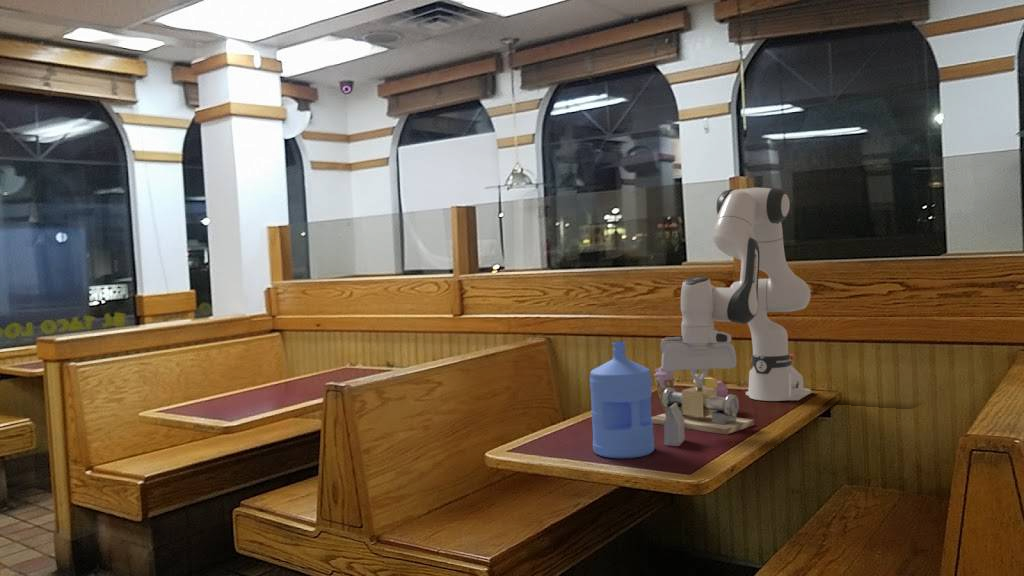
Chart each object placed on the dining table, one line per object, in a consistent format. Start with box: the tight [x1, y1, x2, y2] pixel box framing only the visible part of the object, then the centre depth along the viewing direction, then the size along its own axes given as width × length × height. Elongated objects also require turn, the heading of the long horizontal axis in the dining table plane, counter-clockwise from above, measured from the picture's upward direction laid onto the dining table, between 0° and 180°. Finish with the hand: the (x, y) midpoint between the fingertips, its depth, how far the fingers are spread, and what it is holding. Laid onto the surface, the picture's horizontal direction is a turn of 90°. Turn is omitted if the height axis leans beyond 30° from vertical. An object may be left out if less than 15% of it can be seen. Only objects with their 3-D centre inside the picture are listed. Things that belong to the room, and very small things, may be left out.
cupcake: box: [703, 380, 729, 398], centre depth 254 cm, size 9×9×10 cm
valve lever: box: [692, 373, 718, 388], centre depth 234 cm, size 12×3×2 cm, turn 8°
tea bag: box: [663, 403, 686, 447], centre depth 219 cm, size 4×7×10 cm, turn 155°
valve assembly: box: [651, 384, 755, 436], centre depth 239 cm, size 14×26×12 cm, turn 43°
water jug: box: [589, 341, 655, 459], centre depth 212 cm, size 16×16×28 cm
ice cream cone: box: [653, 365, 675, 412], centre depth 259 cm, size 7×6×15 cm
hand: (699, 385), depth 231 cm, fingers closed
